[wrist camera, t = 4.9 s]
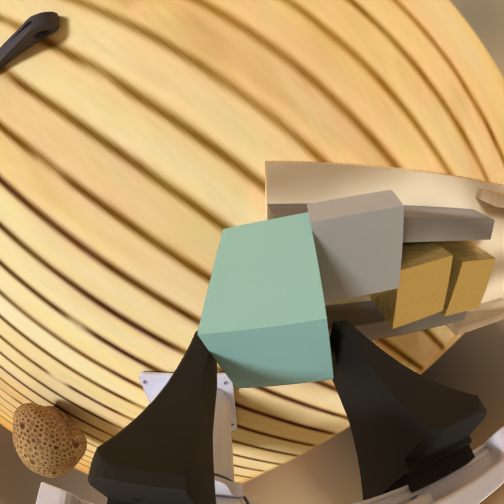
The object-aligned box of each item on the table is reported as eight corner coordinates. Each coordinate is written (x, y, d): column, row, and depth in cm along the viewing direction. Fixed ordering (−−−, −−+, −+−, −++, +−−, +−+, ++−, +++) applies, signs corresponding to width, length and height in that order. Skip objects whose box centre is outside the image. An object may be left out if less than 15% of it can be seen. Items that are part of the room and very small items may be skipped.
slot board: (496, 302, 23) (513, 318, 19) (263, 342, 21) (269, 376, 18) (526, 190, 17) (550, 201, 14) (265, 161, 15) (275, 169, 12)
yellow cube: (450, 281, 19) (478, 307, 15) (415, 286, 19) (444, 316, 15) (462, 236, 17) (496, 258, 14) (427, 237, 17) (462, 261, 14)
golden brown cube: (413, 281, 19) (442, 310, 15) (366, 294, 19) (392, 328, 15) (417, 231, 17) (452, 255, 13) (367, 241, 17) (399, 270, 13)
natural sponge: (15, 379, 22) (-15, 438, 13) (62, 384, 22) (32, 459, 13) (53, 423, 26) (34, 479, 17) (102, 431, 26) (86, 496, 17)
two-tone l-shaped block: (390, 268, 14) (425, 362, 9) (248, 293, 16) (239, 392, 11) (391, 189, 11) (453, 281, 7) (220, 221, 13) (192, 326, 8)
